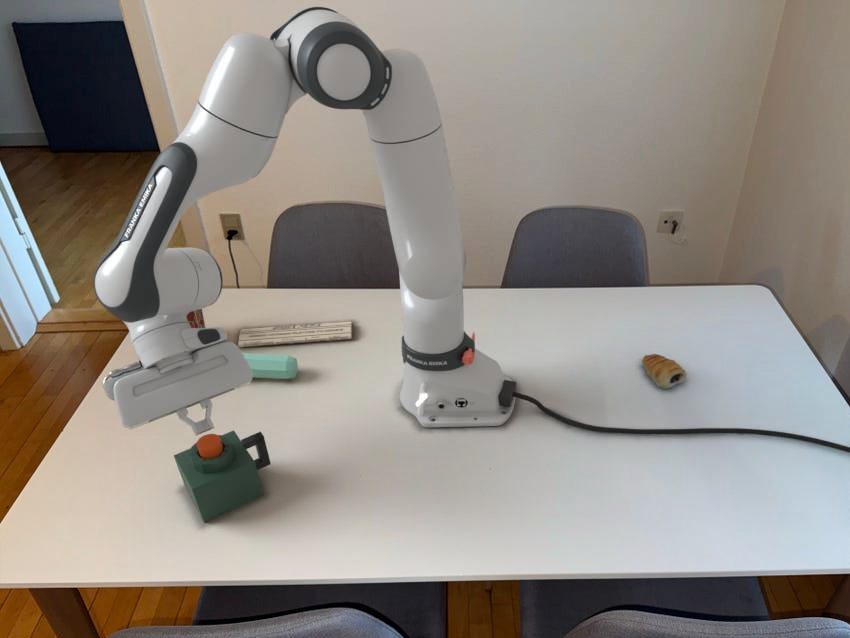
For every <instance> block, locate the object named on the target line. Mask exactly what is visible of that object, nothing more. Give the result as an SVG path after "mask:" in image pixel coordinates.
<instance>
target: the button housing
mask: <svg viewBox="0 0 850 638" xmlns="http://www.w3.org/2000/svg"><path fill="white" fill-rule="evenodd" d="M217 435H218V436H219V437H220V439H221V442H222V445H223V452H222V453H221V454H220V455H219V456H217V457H215V458H212V459H204V458H202V457H201V456H200V454H199V451H198V448H197V441H196V442H195V443H194V444H192V446H190V448H188V449H185V450H183V451H180V452H178V453H176V454H174V455H173V458H174V460H175V463H176V467H177V468H178V472H179V474H180V478H181V479H182V483H183V485H184V488H185V491H186V492H187V494H188V495H189V499H191V502H192V503H193V506H194V507H195V509H196V511H197V513H198V514H199V516H200V518H201V521H202V522H203V523H204V524H206V523H208V522H210V521H212V520H214V519H217V518H218V517H221V516H223V515H225V514H227V513H229V512H231V511H234V510H236V509H237V508H240V507H242V506H244V505H246V504H249V503H250V502H253V501H254V500H256V499H259V498H261V497H263V496H264V491H263V488H262V484H261V481H260V476H259V473H258V470H257V469H256V465H255V461H254V460H255V459H254V458H253V457H252V456H251V454H250V452H249V450H248V449H246V448H245V447H244V446H243V444H242V442H241V440H242V439H240V437H239V436H238V434H237V433H236V431H235V430H231V431H228V432H227V433H224V434H217Z"/></svg>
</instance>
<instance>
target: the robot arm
mask: <svg viewBox="0 0 850 638" xmlns="http://www.w3.org/2000/svg"><path fill="white" fill-rule="evenodd" d="M430 78H431V77H430V75H429V73H428V70H427V68H426V65H425V64H424V61H423V60H422V58H421V57H419V56H418V55H417V54H416V53H414V52H412V51H410V50H407V49H402V48H390V49H389V48H388V49H386V50H385V49H384V50H380V49H379V47H378V46H377V45H376V44H375V43H374V41H373V40H372V39H371V38H370V37H369V36H368V35H367V34H366V33H365V31H363V30H362V29H361V27H360V26H358V25H357V24H356V23H355V22H354V21H353V20H352V19H350V18H349V17H348V16H345V15H344V14H342V13H339V12H338V11H336V10H335V9H331V8H328V7H324V6H312V7H308V8H307V7H306V8H305V9H303V10H301V11H298V12H297V13H296V14H295V15H293V16H292V17H291V18H290V19H288V20H287V21H286V22H285V23H284V24H282V25H281V26H280V27H279V28H277V29H276V30H274V31H273V32H272V34H270V38H268V37H266V36H263V35H261V34H257V33H251V32H250V33H249V32H242V33H241V32H240V33H236V34H234V35H232V36H230V37H229V38H228V39H227V40H226V41H225V42H224V44H223V46H222V48H221V49H220V51H219V52H218V54H217V56H216V58H215V60H214V62H213V64H212V65H211V68H210V69H209V72H208V74H207V76H206V79H205V81H204V84H203V86H202V88H201V90H200V94H199V97H198V100H197V103H196V105H195V108H194V111H193V113H192V115H191V116H190V119H189V121H188V122H187V124H186V125H185V127H184V129H183V130H182V131H181V132H180V134H179V135H178V136H177V137H176V139H175V140H174V141H173V142H172V143H171V144H169V145H168V146H166V147H165V148H164V149H163V150H162V151H161V152H160V153H159V155H158V156H157V158H156V159H155V161H154V162H153V164H152V166H151V168H150V169H149V171H148V174H147V175H146V177H145V179H144V181H143V184H142V185H141V187H140V189H139V191H138V193H137V195H136V198H135V200H134V202H133V204H132V206H131V208H130V210H129V212H128V215H127V216H126V219H125V220H124V222H123V224H122V226H121V229H120V231H119V233H118V235H117V236H116V238H115V240H114V242H113V243H112V244H111V246H110V247H109V249H107V251H106V252H105V253H104V254H103V256H102V257H101V259H100V260H99V262H98V264H97V266H96V269H95V271H94V275H93V290H94V294H95V297H96V299H97V300H98V302H99V303H100V304H101V306H102V307H103V308H104V309H105V310H106V311H107V312H108V313H109V314H111V315H112V316H113V317H115V318H117V319H119V320H120V321H122V322H123V323H124V324H125V326H126V327H127V330H128V332H129V334H130V337H129V338H130V342H131V345H132V347H133V349H134V351H135V354H136V356H137V358H138V361H136V362H133V363H130V364H127V365H125V366H123V367H121V368H115V369H113V370H110V371H109V372H108V373H109V374H107V375H106V376H105V377H104V379H103V381H102V387H103V390H104V392H105V394H106V397H108V399H110V400H111V401H114V402H115V407H116V410H117V414H118V416H119V419H120V422H121V425H122V427H124V428H126V429H127V430H134V429H137V428H139V427H142V426H145V425H147V424H150V423H152V422H155V421H158V420H159V419H163V418H165V417H167V416H170V415H173V414H175V413H176V416H177V417H178V419H179V420H180V421H182V422H183V423H184V424H186V425H187V426H189V427H190V428H191V430H192V433H193V435H194V436H195V437H196V436H199V435H201V434H204V433H206V432H209V431H211V430H213V429H215V426H214V423H213V421H212V419H211V416H212V409H213V402H212V400H211V399H214V398H217V397H219V396H222V395H225V394H227V393H230V392H232V391H235V390H237V389H240V388H242V387H245V386H248V385H250V383H251V382H252V380H253V379H254V378H253V372H252V370H251V368H250V366H249V364H248V362H247V360H246V359H245V357H244V355H243V354H242V353H243V352H242V351H241V349H240V347H239V346H237V345H236V344H235V343H234V342H232V341H228V333H227V330H226V329H225V328H224V327H221V326H215V327H214V326H213V327H206V328H191V326H190V324H189V322H188V320H187V314H188V313H190V312H191V311H194V310H199V309H202V310H203V309H205V308H207V307H209V306H212V305H214V304H215V303H216V302H217V301H218V299H219V297H220V296H221V294H222V290H223V286H224V285H223V284H224V281H223V280H224V279H223V273H222V269H221V267H220V265H219V263H218V261H217V259H215V257H214V256H213V255H212V254H211V253H210V252H209V251H207V250H206V249H203V248H200V247H199V248H197V247H169V248H167V247H168V245H169V244H170V241H171V240H172V237H173V236H174V233H175V231H176V230H177V227H178V226H179V223H180V221H181V220H182V217H183V216H184V214H185V213H186V211H187V210H188V209H189V208H190V207H191V206H192V205H194V204H195V203H196V202H198V201H199V200H201V199H203V198H205V197H207V196H209V195H211V194H213V193H216V192H219V191H221V190H224V189H225V190H226V189H227V188H231V187H235V186H238V185H241V184H244V183H247V182H248V181H251V180H253V178H255V177H257V176H259V174H260V173H261V172H262V171H263V170H264V168H265V166H266V165H267V163H269V160H270V158H271V157H272V154H273V152H274V150H275V147H276V144H277V141H278V139H279V136H280V133H281V130H282V127H283V125H284V121H285V118H286V115H287V114H288V113H289V111H290V109H291V107H292V106H293V105H294V104H295V103H296V102H297V101H298V100H299V99H301V98H303V97H304V96H306V95H307V94H308V96H310V98H311V99H313V100H314V101H316V102H317V103H318V104H320V105H322V106H325V107H327V108H331V109H336V110H361V111H362V114H363V116H364V119H365V123H366V128H367V132H368V135H369V136H368V137H369V140H370V144H371V148H372V153H373V156H374V160H375V165H376V169H377V172H378V173H377V174H378V176H379V181H380V184H381V185H380V186H381V189H382V195H383V200H384V205H385V210H386V215H387V222H388V225H389V230H390V235H391V240H392V245H393V249H394V254H395V258H396V262H397V263H396V264H397V267H398V273H399V274H398V275H399V289H400V290H399V292H400V306H401V318H402V319H401V321H402V333H403V335H402V336H401V342H400V343H401V344H400V347H401V356H402V363H403V364H404V367H403V368H404V369H403V379H402V385H401V388H400V391H399V401H400V404H401V406H402V407H403V408H404V409H405V410H406V411H407V412H408V413H410V414H411V415H412V416H414V417H415V418H416V420H417V421H418V423H419V424H420V426H421V427H423V428H428V429H429V428H462V427H464V428H467V427H497V426H501V425H503V424H505V423H506V422H507V421H508V419H510V417H511V416H512V413H513V412H514V408H515V403H516V399H519V400H523V401H527V402H529V403H531V404H533V405H535V406H536V407H537V408H538V409H539V410H540V411H541V412H543V413H545V414H546V415H548V416H550V417H552V418H554V419H555V420H558V421H559V422H562V423H564V424H567V425H569V426H572V427H576V428H580V429H584V430H587V431H592V432H599V433H607V434H626V435H694V434H697V435H698V434H740V435H741V434H742V435H757V436H770V437H778V438H785V439H790V440H796V441H802V442H806V443H811V444H816V445H820V446H824V447H828V448H830V449H831V448H832V449H835V450H839V451H842V452H846V453H850V446H847V445H844V444H839V443H836V442H832V441H828V440H823V439H820V438H816V437H811V436H807V435H801V434H797V433H796V434H795V433H791V432H784V431H777V430H768V429H757V428H756V429H755V428H741V427H740V428H739V427H738V428H737V427H701V428H699V427H698V428H696V427H695V428H644V429H643V428H623V427H608V426H607V427H606V426H597V425H592V424H587V423H584V422H579V421H577V420H573V419H570V418H567V417H565V416H563V415H560V414H558V413H556V412H554V411H553V410H551V409H549V408H548V407H546V406H545V405H543V404H542V403H541V402H540V401H539V400H538V399H536V398H534V397H533V396H529V395H527V394H523V393H521V392H517V381H514V380H512V379H511V377H509V376H506V375H504V373H503V371H502V368H501V367H502V366H501V365H500V364H499V362H498V361H497V360H495V359H494V358H492V357H490V356H488V355H487V354H485V353H483V352H482V351H480V350H479V349H477V348H476V335H475V332H472V335H471V337H470V336H469V335H468V334H467V332H466V331H465V316H464V313H465V312H464V311H465V307H464V305H465V304H464V303H465V302H464V301H465V299H464V288H463V279H464V276H465V275H464V274H465V272H466V271H465V270H466V264H467V253H466V247H465V242H464V237H463V231H462V226H461V222H460V221H461V220H460V216H459V209H458V204H457V199H456V194H455V189H454V182H453V178H452V172H451V167H450V162H449V161H450V160H449V156H448V151H447V145H446V139H445V133H444V128H443V123H442V118H441V112H440V108H439V103H438V100H437V97H436V93H435V89H434V87H433V84H432V81H431V79H430ZM196 405H200V408H201V409H202V410H205V416H204V419H202V420H199V421H196V422H195V421H194V420H192V418H190V417H189V416H188V414H189V410H188V408H190V407H194V406H196Z"/></svg>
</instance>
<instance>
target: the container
mask: <svg viewBox="0 0 850 638" xmlns="http://www.w3.org/2000/svg"><path fill="white" fill-rule="evenodd" d="M242 354H243V355H244V357H245V359H246V360H247V362H248V364H249V366H250V368H251V370H252V372H253V378H252V379H270V380H271V379H273V380H274V379H276V380H292V379H295V378H296V376H297V373H298V368H299V367H298V366H299V363H298V359H297V358H295V357H294V356H292V355H289V354H287V355H286V354H270V353H269V354H267V353H247V352H246V353H245V352H242Z"/></svg>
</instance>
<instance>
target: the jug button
mask: <svg viewBox="0 0 850 638" xmlns="http://www.w3.org/2000/svg"><path fill="white" fill-rule="evenodd" d="M218 435H219V434H216V433H207V434H203V435H201V437H199V438H198V439H197V441H196V442H197V448H198V451H199V454H200V456H201V457H202V458H204V459H212V458H215V457H217V456H219V455H220V454H221V453H222V452H223V445H222V442H221V439H220V437H219V436H218Z"/></svg>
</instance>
